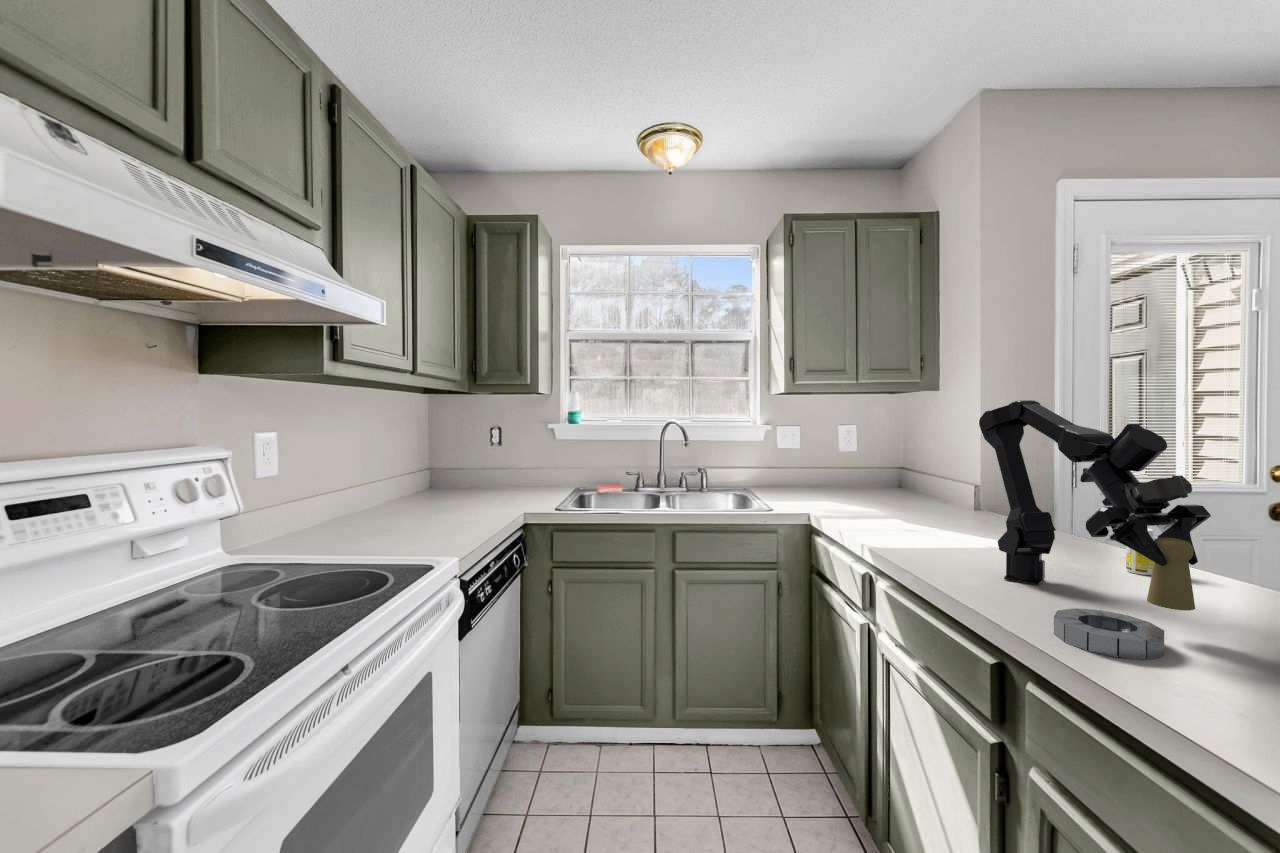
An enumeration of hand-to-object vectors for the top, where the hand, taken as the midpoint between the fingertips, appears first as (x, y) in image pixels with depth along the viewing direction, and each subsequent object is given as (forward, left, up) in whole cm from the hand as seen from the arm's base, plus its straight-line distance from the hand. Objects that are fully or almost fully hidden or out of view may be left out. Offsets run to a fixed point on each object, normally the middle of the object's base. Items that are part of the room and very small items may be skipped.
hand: (1179, 564), depth 96 cm
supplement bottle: (-7, +47, -13) cm, 50 cm away
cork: (-1, +1, -7) cm, 7 cm away
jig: (-9, -8, -13) cm, 17 cm away
